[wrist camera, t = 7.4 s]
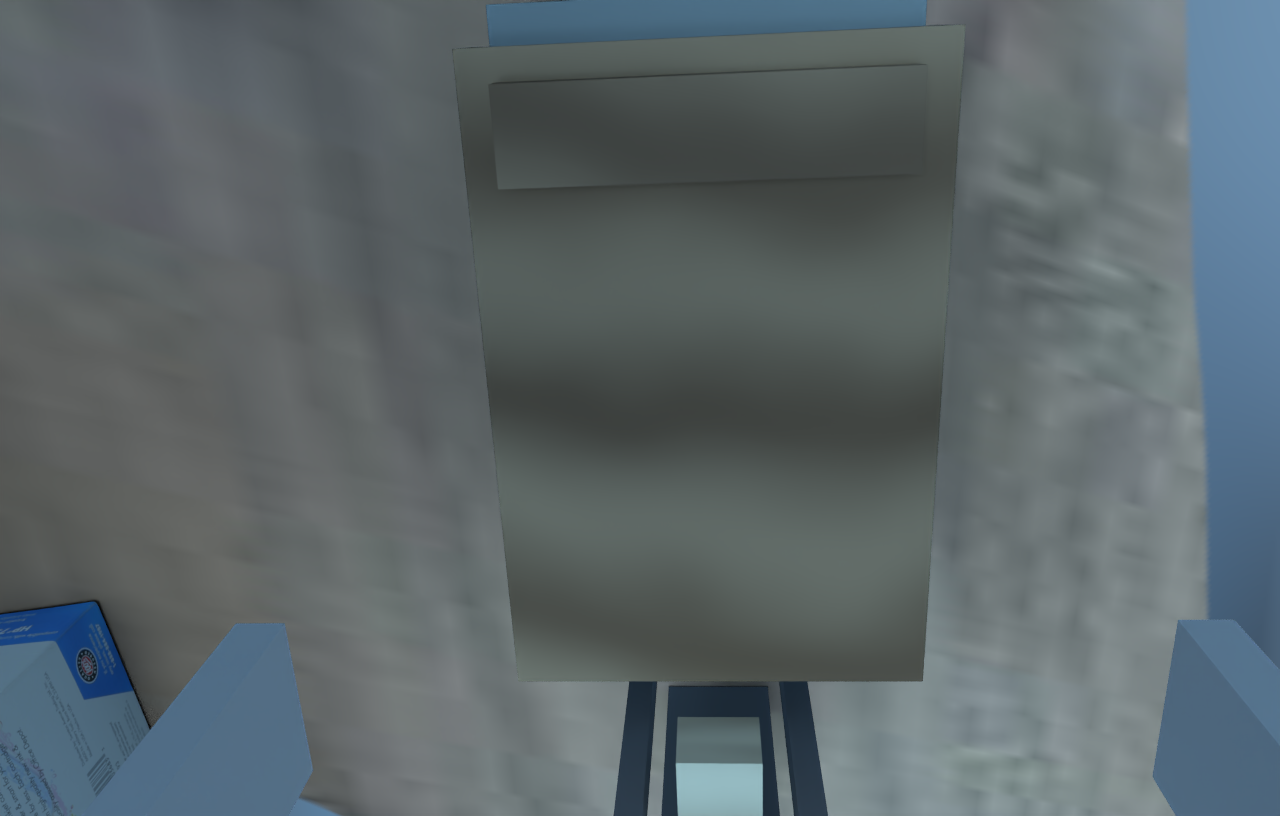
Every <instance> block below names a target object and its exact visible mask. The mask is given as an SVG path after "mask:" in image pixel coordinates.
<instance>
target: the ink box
mask: <svg viewBox="0 0 1280 816" xmlns="http://www.w3.org/2000/svg"><path fill="white" fill-rule="evenodd" d="M149 731H150V729H149V727H148V724H147V722H146V719H145V717H144V715H143V712H142V710H141V707H140V705H139V703H138V700H137V698H136V695H135V693H134V690H133V688H132V686H131V684H130V681H129V679H128V676H127V674H126V671H125V669H124V667H123V664H122V662H121V659H120V657H119V654H118V652H117V650H116V647H115V645H114V642H113V640H112V637H111V635H110V633H109V630H108V628H107V626H106V623H105V621H104V618H103V616H102V614H101V611H100V609H99V607H98V605H97V603H96V602H87V603H80V604H73V605H66V606H60V607H52V608H45V609H38V610H31V611H23V612H16V613H8V614H1V615H0V816H82V814H83V813H84V812H85V811H86V809H87V808H88V807H89V806H90V804H91V803H92V802H93V801H94V799H95V798H96V797H97V796H98V794H99V793H100V792H101V791H102V789H103V788H104V787H105V786H106V784H107V783H108V782H109V781H110V780H111V778H112V777H113V776H114V775H115V773H116V772H117V771H118V770H119V768H120V767H121V766H122V765H123V763H124V762H125V761H126V760H127V758H128V757H129V756H130V755H131V753H132V752H133V751H134V750H135V748H136V747H137V746H138V745H139V743H140V742H141V741H142V740H143V738H144V737H145V736H146V735H147V734H148V732H149Z"/></svg>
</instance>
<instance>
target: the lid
mask: <svg viewBox="0 0 1280 816" xmlns="http://www.w3.org/2000/svg"><path fill="white" fill-rule="evenodd" d="M964 40H965V25H934V26H913V27H892V28H871V29H850V30H829V31H808V32H786V33H765V34H744V35H723V36H702V37H681V38H660V39H639V40H618V41H597V42H576V43H555V44H534V45H513V46H492V47H471V48H458V49H452V52H453V62H454V72H455V81H456V91H457V100H458V110H459V119H460V129H461V138H462V148H463V157H464V167H465V177H466V186H467V196H468V205H469V215H470V224H471V234H472V243H473V253H474V262H475V272H476V282H477V291H478V301H479V310H480V320H481V329H482V339H483V348H484V358H485V367H486V377H487V387H488V396H489V406H490V415H491V425H492V434H493V444H494V453H495V463H496V472H497V482H498V492H499V501H500V511H501V520H502V530H503V539H504V549H505V558H506V568H507V577H508V587H509V597H510V606H511V616H512V625H513V635H514V644H515V654H516V663H517V673H518V681H923V669H924V654H925V638H926V623H927V608H928V592H929V577H930V562H931V546H932V531H933V515H934V500H935V485H936V469H937V454H938V439H939V423H940V408H941V393H942V377H943V362H944V347H945V331H946V316H947V301H948V285H949V270H950V255H951V239H952V224H953V209H954V193H955V178H956V163H957V147H958V132H959V117H960V101H961V86H962V71H963V55H964Z"/></svg>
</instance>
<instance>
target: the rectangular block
mask: <svg viewBox="0 0 1280 816" xmlns="http://www.w3.org/2000/svg"><path fill="white" fill-rule="evenodd" d="M676 780H677V805H678V816H763V763H762V750H761V737H760V724H759V717H678V723H677V747H676Z"/></svg>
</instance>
